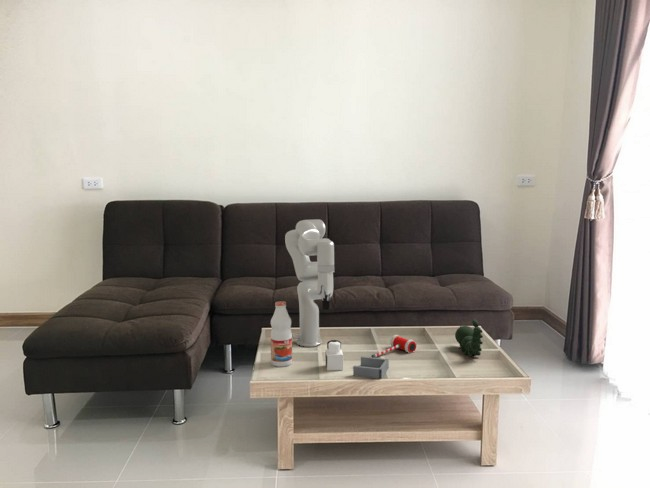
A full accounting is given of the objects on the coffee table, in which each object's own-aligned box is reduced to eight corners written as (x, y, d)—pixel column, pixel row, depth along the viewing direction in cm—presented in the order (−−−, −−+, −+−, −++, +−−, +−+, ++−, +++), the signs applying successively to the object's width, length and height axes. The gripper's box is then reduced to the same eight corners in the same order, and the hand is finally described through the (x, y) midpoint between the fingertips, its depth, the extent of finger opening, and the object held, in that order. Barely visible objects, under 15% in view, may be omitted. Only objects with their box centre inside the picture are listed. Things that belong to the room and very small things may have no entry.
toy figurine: (486, 363, 265) (468, 341, 289) (489, 324, 261) (471, 305, 285) (466, 364, 264) (450, 342, 289) (468, 324, 260) (452, 305, 284)
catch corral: (353, 375, 246) (353, 366, 246) (361, 365, 259) (361, 356, 258) (381, 378, 243) (381, 369, 242) (388, 367, 255) (388, 359, 255)
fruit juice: (286, 358, 268) (285, 299, 264) (295, 364, 260) (295, 303, 256) (267, 362, 263) (266, 301, 259) (276, 368, 255) (275, 306, 251)
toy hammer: (381, 362, 263) (381, 348, 262) (364, 355, 272) (364, 342, 272) (416, 352, 277) (417, 339, 276) (399, 346, 286) (399, 333, 285)
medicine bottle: (325, 365, 259) (325, 339, 258) (341, 364, 260) (341, 338, 258) (326, 370, 252) (326, 344, 250) (343, 370, 253) (343, 343, 251)
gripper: (322, 265, 267) (323, 305, 269) (312, 271, 253) (313, 312, 255) (338, 266, 265) (339, 306, 267) (329, 271, 251) (329, 313, 253)
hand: (326, 309), depth 261 cm, fingers closed
